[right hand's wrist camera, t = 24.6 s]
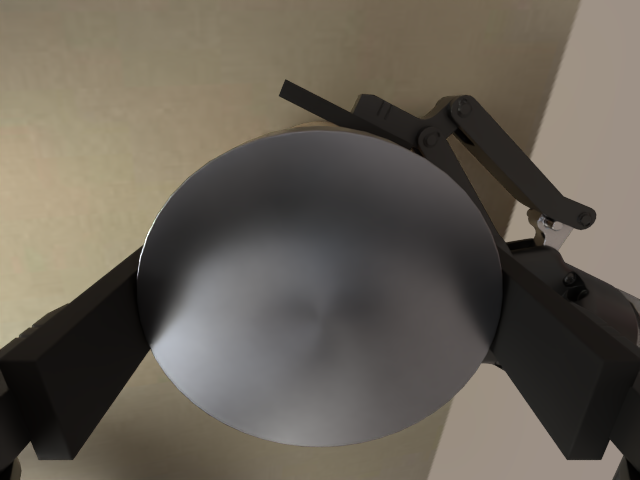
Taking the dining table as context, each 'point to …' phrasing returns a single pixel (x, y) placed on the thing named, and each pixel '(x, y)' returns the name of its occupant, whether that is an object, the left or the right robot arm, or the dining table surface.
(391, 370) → the lid
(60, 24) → the dining table surface
